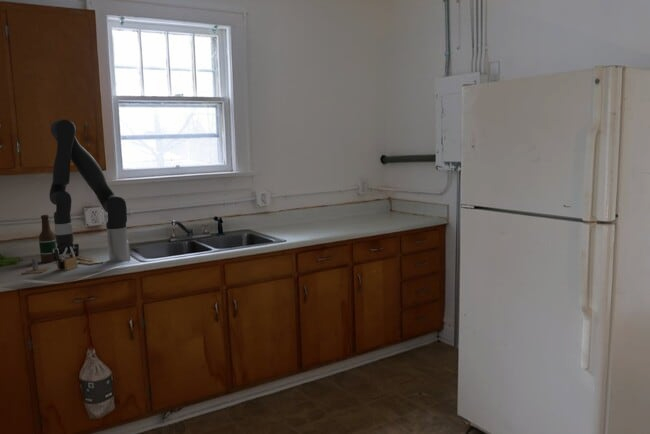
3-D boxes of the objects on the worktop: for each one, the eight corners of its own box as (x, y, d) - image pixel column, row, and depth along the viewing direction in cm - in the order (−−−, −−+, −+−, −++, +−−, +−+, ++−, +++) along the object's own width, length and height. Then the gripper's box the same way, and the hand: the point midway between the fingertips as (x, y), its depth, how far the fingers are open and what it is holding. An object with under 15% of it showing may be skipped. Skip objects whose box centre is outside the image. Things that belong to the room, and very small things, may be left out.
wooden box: (29, 271, 253) (27, 257, 252) (49, 270, 254) (48, 256, 253) (21, 276, 244) (20, 261, 243) (42, 274, 245) (41, 260, 244)
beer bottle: (38, 261, 275) (33, 215, 272) (54, 259, 280) (50, 213, 277) (43, 263, 269) (38, 216, 266) (60, 261, 275) (55, 214, 271)
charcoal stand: (68, 268, 257) (66, 255, 256) (79, 269, 254) (77, 255, 253) (56, 271, 250) (54, 258, 249) (67, 272, 248) (66, 259, 247)
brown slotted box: (67, 266, 256) (66, 256, 255) (77, 267, 254) (76, 257, 253) (57, 269, 250) (56, 259, 250) (67, 270, 248) (66, 259, 248)
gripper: (57, 235, 242) (61, 271, 244) (82, 230, 255) (85, 264, 257) (44, 235, 244) (48, 271, 247) (70, 230, 258) (73, 264, 260)
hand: (67, 267), depth 252 cm, fingers closed on brown slotted box, 6 cm apart
